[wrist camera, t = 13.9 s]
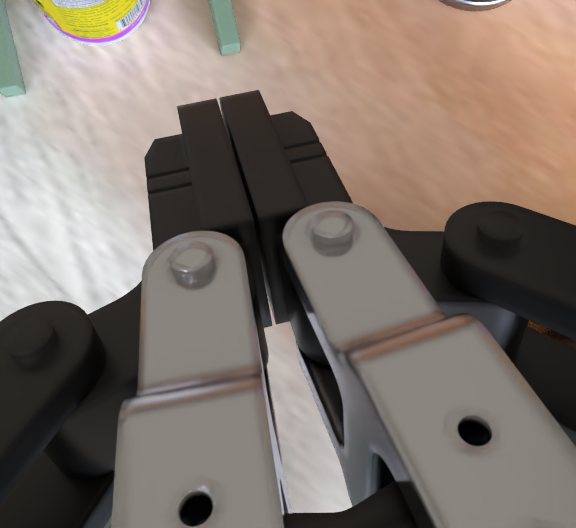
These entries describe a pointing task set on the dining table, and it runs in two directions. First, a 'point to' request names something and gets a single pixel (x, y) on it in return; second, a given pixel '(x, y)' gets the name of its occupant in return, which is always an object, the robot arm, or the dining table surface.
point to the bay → (6, 71)
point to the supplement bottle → (95, 19)
